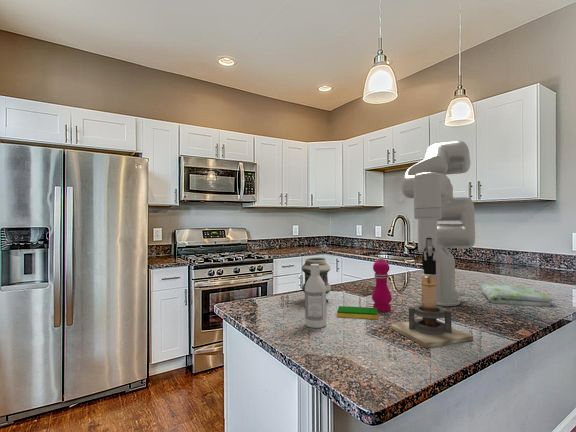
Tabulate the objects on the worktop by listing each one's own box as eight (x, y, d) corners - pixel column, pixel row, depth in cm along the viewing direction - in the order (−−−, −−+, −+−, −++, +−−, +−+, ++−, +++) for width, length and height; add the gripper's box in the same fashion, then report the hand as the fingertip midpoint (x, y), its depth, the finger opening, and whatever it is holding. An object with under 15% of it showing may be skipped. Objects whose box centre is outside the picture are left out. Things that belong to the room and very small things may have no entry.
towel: (554, 308, 122) (554, 294, 122) (489, 304, 129) (489, 291, 129) (536, 296, 139) (536, 284, 139) (479, 293, 146) (479, 282, 146)
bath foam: (313, 320, 112) (312, 262, 112) (330, 324, 108) (329, 263, 108) (301, 325, 107) (300, 264, 107) (318, 330, 102) (317, 266, 102)
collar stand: (432, 322, 107) (432, 299, 107) (473, 340, 92) (472, 313, 92) (390, 328, 103) (390, 304, 103) (425, 347, 87) (425, 319, 87)
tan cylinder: (430, 326, 100) (429, 274, 100) (440, 331, 96) (439, 277, 96) (419, 328, 99) (418, 275, 99) (428, 332, 95) (427, 278, 95)
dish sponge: (339, 312, 122) (339, 305, 122) (377, 314, 119) (377, 307, 119) (337, 318, 115) (336, 311, 115) (377, 320, 112) (377, 313, 112)
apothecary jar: (298, 304, 133) (297, 260, 133) (307, 297, 144) (306, 256, 144) (326, 306, 128) (326, 261, 128) (334, 299, 140) (333, 257, 139)
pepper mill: (392, 312, 119) (391, 257, 119) (372, 311, 121) (371, 257, 121) (390, 306, 126) (389, 255, 126) (371, 306, 128) (370, 255, 128)
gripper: (413, 213, 107) (414, 265, 107) (414, 215, 91) (416, 276, 91) (438, 213, 104) (439, 266, 104) (444, 214, 88) (445, 277, 88)
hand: (428, 271), depth 98 cm, fingers open, 9 cm apart
